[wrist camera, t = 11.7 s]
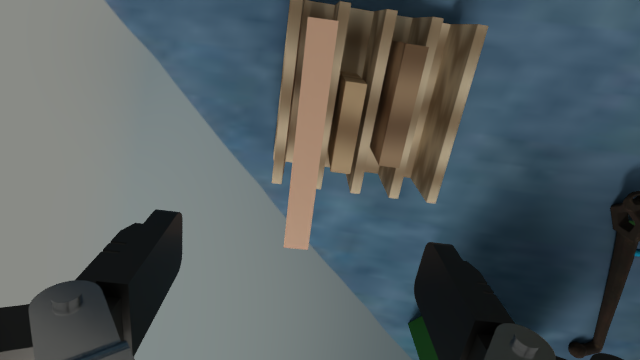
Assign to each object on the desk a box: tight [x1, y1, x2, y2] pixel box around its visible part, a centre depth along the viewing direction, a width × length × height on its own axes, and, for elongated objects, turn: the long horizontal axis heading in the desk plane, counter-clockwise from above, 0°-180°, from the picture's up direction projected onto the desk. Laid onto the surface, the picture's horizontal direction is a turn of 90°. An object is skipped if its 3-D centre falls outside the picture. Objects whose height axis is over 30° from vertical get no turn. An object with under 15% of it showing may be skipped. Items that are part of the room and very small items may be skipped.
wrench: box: [568, 191, 640, 358], centre depth 54 cm, size 5×5×30 cm
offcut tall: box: [370, 40, 429, 168], centre depth 38 cm, size 11×2×10 cm, turn 172°
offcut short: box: [327, 71, 367, 174], centre depth 39 cm, size 9×2×8 cm, turn 172°
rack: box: [272, 0, 488, 203], centre depth 40 cm, size 18×19×8 cm
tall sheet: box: [284, 17, 339, 250], centre depth 32 cm, size 14×2×22 cm, turn 173°
